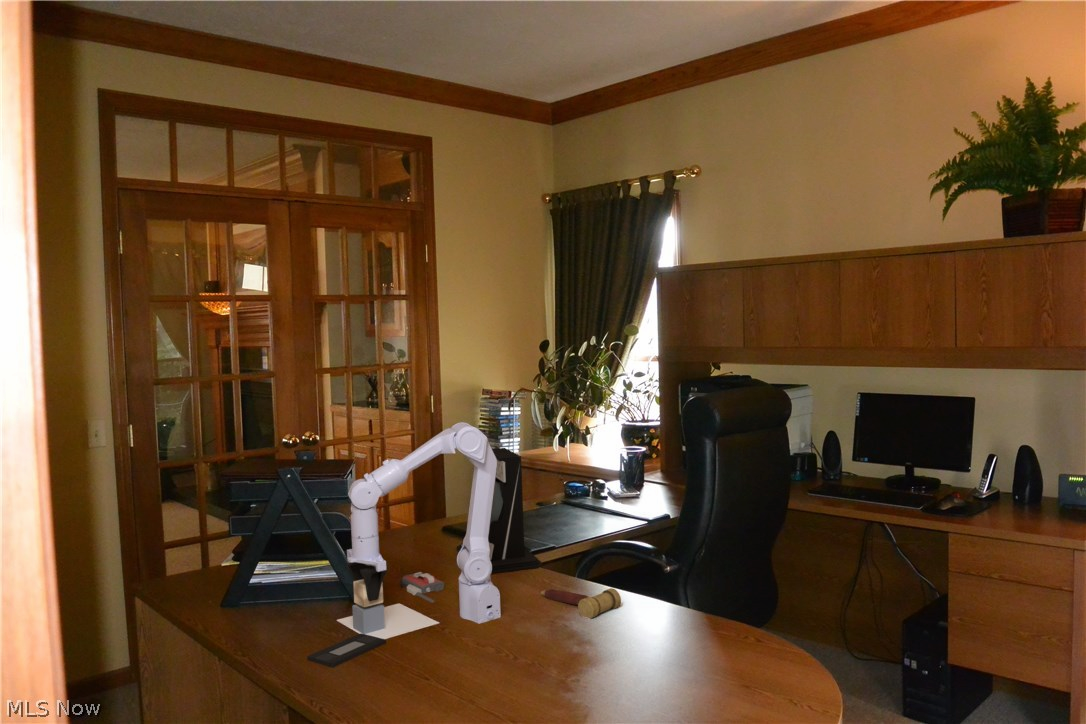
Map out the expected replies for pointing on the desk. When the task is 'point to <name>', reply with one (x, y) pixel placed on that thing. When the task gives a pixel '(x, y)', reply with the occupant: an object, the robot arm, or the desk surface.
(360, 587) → the maple cube
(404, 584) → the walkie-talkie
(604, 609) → the gavel
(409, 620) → the blank cream board
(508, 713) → the desk surface
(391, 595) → the desk surface
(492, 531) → the award
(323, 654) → the vhs tape
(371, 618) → the slate block
